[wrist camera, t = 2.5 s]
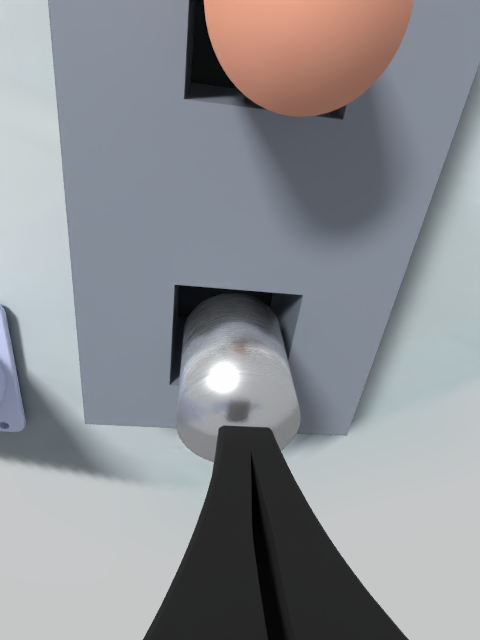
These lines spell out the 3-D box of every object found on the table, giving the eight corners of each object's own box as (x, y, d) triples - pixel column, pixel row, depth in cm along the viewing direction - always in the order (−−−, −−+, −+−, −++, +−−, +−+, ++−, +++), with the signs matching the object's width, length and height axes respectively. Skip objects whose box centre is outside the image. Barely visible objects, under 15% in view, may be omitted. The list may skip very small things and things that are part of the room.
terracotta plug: (200, 82, 12) (196, 104, 8) (212, -94, 10) (214, -170, 6) (328, 99, 12) (380, 127, 9) (362, -67, 11) (448, -124, 7)
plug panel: (108, 350, 22) (85, 424, 18) (84, -210, 12) (18, -341, 8) (322, 363, 23) (346, 435, 19) (461, -134, 13) (577, -212, 9)
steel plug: (180, 369, 17) (173, 462, 14) (186, 289, 15) (179, 370, 12) (271, 374, 18) (288, 466, 14) (287, 297, 16) (312, 378, 12)
